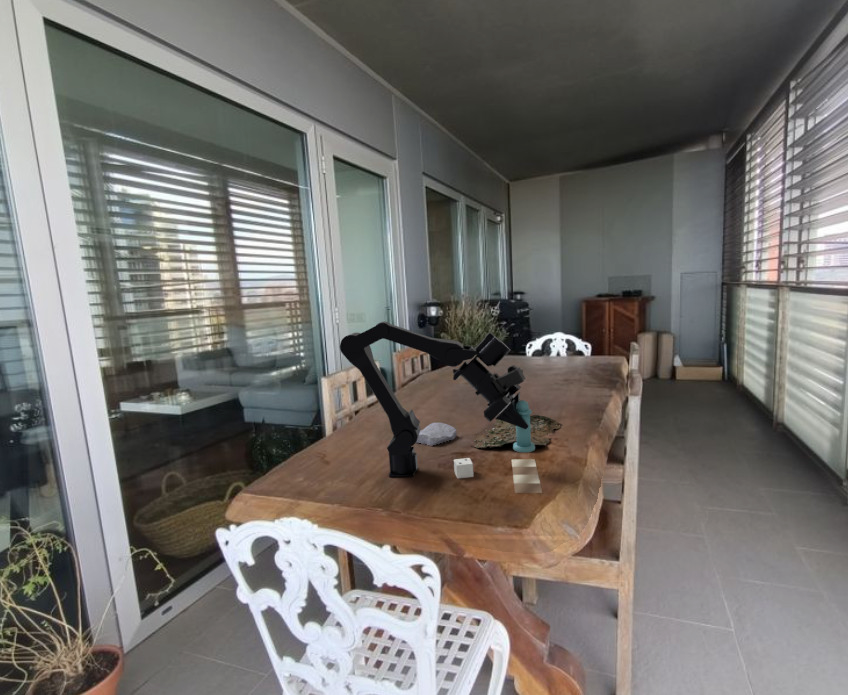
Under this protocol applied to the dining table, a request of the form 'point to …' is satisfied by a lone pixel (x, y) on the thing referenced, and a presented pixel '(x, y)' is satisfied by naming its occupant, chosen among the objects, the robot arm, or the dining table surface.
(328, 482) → the dining table surface
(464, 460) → the die
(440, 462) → the dining table surface
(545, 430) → the terrain model
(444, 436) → the stone block
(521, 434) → the pawn
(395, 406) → the robot arm
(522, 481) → the board
